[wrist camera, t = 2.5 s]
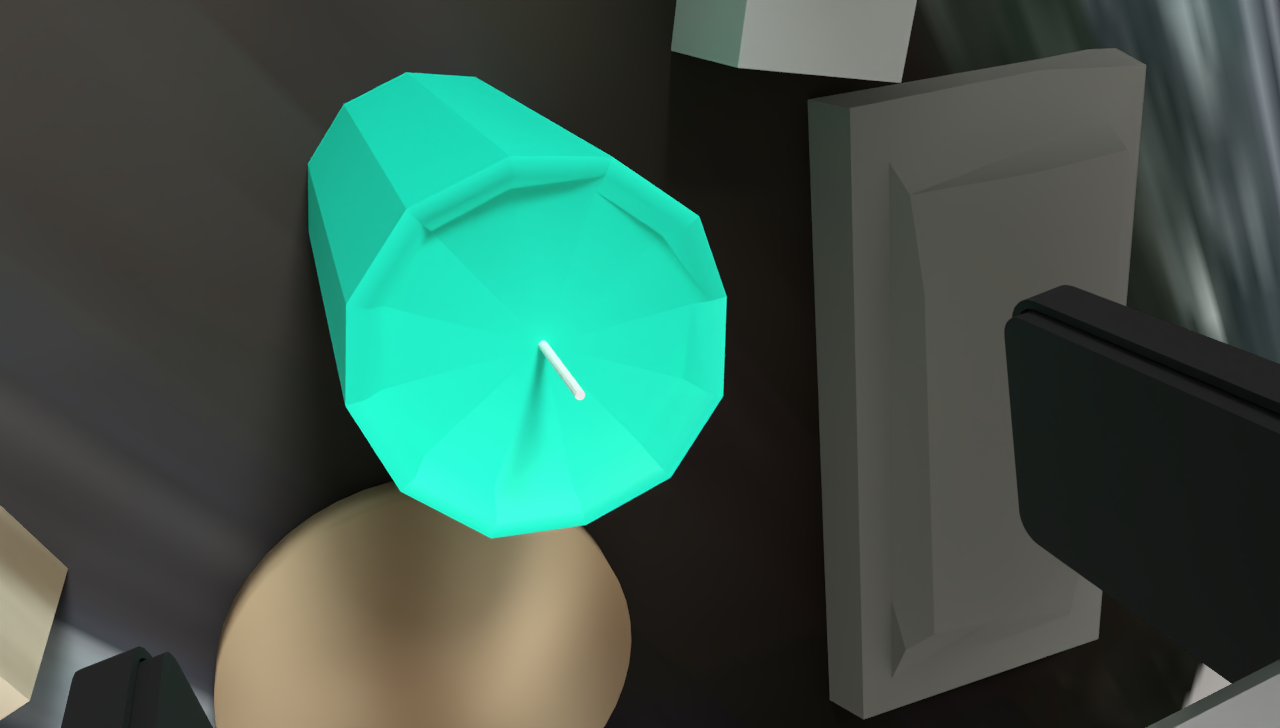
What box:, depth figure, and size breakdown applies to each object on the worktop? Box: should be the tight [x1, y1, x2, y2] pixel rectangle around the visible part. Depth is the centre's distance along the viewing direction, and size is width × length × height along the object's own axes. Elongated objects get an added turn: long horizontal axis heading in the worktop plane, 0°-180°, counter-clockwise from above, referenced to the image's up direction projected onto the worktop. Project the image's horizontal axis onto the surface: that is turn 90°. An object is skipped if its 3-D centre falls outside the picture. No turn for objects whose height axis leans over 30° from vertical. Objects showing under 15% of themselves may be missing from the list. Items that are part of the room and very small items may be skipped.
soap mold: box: [808, 48, 1146, 719], centre depth 31 cm, size 10×20×4 cm, turn 6°
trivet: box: [214, 481, 631, 728], centre depth 28 cm, size 11×11×1 cm
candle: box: [308, 72, 727, 539], centre depth 19 cm, size 6×6×12 cm
